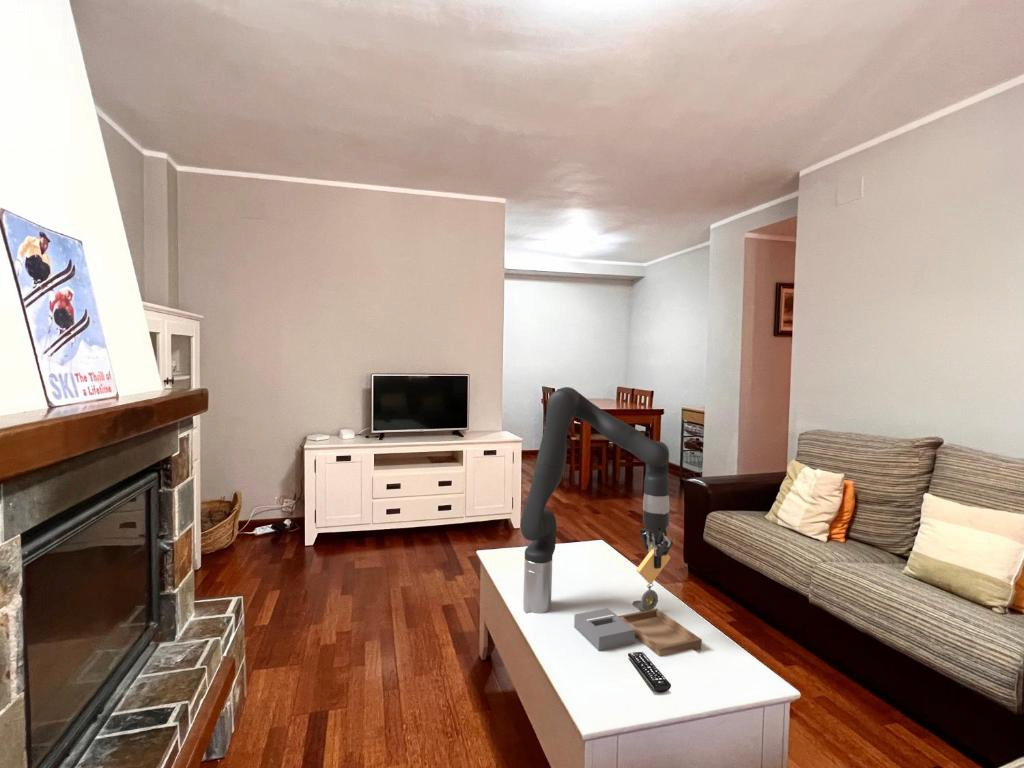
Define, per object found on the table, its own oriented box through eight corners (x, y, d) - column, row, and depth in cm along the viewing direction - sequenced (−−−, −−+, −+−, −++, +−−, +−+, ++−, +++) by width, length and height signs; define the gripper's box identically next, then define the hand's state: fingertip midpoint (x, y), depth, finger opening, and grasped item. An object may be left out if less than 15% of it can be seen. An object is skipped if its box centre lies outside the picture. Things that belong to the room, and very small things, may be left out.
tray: (617, 625, 159) (618, 616, 159) (656, 617, 165) (657, 608, 165) (659, 659, 141) (659, 649, 141) (701, 649, 147) (701, 639, 146)
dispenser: (574, 630, 156) (574, 613, 155) (607, 623, 160) (607, 606, 160) (598, 654, 143) (599, 635, 143) (634, 646, 147) (634, 628, 147)
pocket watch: (635, 601, 176) (636, 573, 176) (659, 608, 172) (660, 578, 171) (627, 611, 169) (628, 581, 169) (653, 618, 165) (654, 587, 164)
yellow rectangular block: (635, 570, 150) (656, 543, 152) (647, 582, 151) (667, 555, 154) (639, 572, 148) (659, 545, 151) (651, 584, 150) (670, 557, 152)
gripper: (632, 504, 156) (631, 560, 156) (660, 516, 143) (659, 577, 144) (652, 502, 159) (651, 557, 159) (681, 513, 146) (680, 573, 146)
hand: (655, 566), depth 151 cm, fingers closed on yellow rectangular block, 1 cm apart
